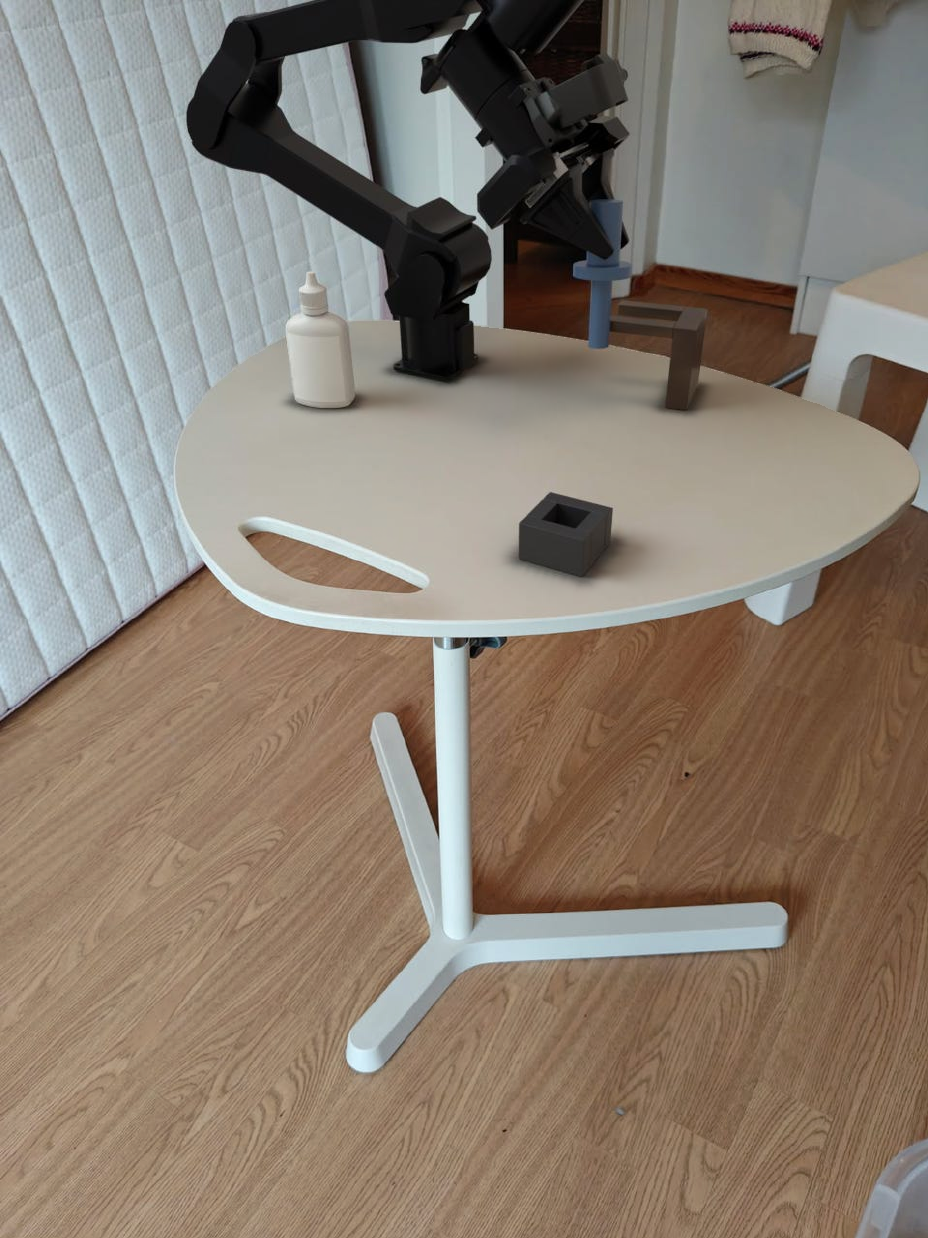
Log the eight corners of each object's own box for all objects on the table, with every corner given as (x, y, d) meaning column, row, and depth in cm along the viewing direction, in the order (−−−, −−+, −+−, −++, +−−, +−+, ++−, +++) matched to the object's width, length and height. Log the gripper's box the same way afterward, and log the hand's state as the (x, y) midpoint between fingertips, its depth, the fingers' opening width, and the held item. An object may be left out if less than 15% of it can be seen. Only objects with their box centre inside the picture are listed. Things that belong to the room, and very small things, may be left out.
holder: (518, 558, 70) (518, 522, 68) (548, 526, 73) (549, 491, 72) (582, 577, 68) (584, 540, 66) (610, 543, 71) (613, 507, 70)
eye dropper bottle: (327, 417, 90) (312, 285, 82) (288, 400, 93) (270, 272, 85) (362, 401, 92) (350, 272, 85) (323, 385, 95) (308, 260, 88)
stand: (601, 399, 91) (606, 320, 87) (616, 376, 95) (621, 299, 91) (686, 410, 89) (696, 329, 84) (697, 386, 93) (707, 308, 88)
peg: (579, 354, 85) (586, 204, 79) (563, 341, 89) (568, 198, 83) (634, 351, 85) (645, 202, 80) (616, 338, 90) (624, 196, 84)
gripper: (512, 31, 69) (647, 213, 71) (614, 6, 82) (726, 161, 84) (421, 145, 77) (545, 306, 79) (528, 106, 89) (632, 245, 91)
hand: (617, 250), depth 83 cm, fingers closed on peg, 3 cm apart
